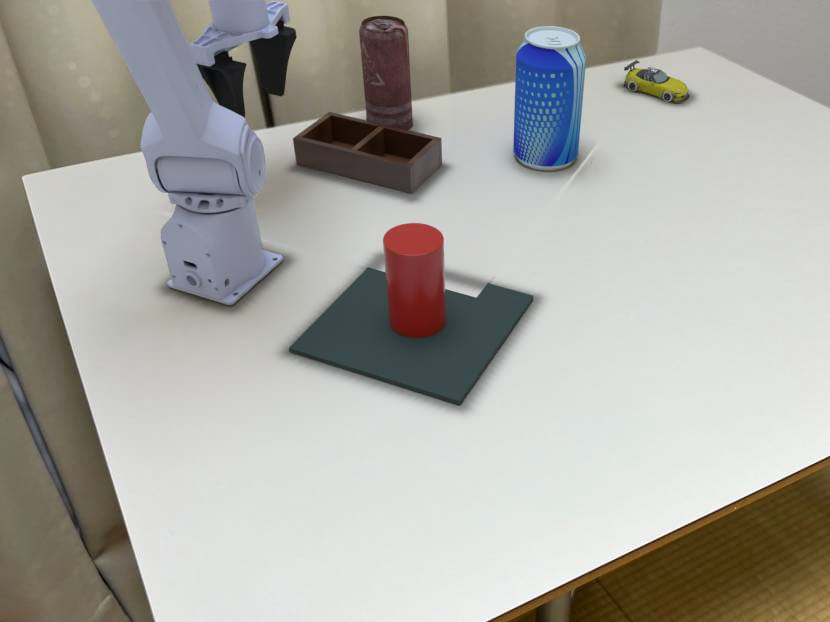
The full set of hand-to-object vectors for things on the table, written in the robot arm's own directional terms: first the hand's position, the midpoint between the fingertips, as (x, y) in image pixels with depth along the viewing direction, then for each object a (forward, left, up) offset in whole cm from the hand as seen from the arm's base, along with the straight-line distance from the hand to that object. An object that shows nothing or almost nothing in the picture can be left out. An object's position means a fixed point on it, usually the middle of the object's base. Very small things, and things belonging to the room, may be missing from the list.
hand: (255, 106), depth 100 cm
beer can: (+22, -27, -11) cm, 36 cm away
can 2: (-16, -28, -10) cm, 34 cm away
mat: (-16, -28, -10) cm, 34 cm away
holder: (+10, -8, -10) cm, 16 cm away
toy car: (+50, -34, -11) cm, 61 cm away
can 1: (+21, -5, -11) cm, 24 cm away
